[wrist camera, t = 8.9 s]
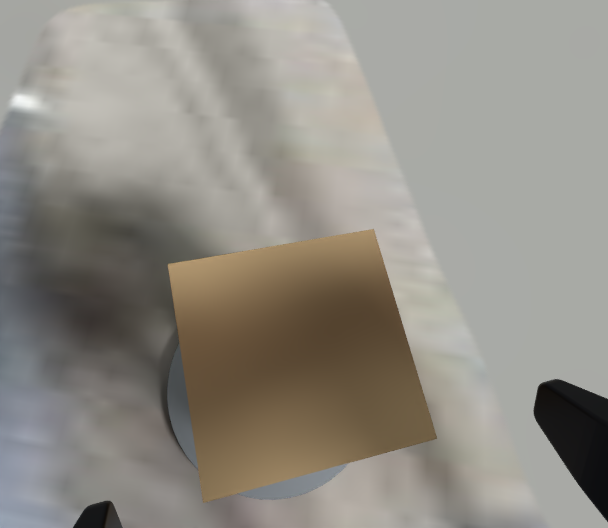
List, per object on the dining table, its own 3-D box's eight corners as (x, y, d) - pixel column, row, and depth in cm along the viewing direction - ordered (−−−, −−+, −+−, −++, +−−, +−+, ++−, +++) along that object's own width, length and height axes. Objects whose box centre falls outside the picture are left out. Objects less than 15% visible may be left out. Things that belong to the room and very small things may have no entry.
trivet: (411, 381, 23) (415, 380, 23) (275, 549, 20) (276, 553, 20) (272, 251, 25) (273, 247, 24) (124, 387, 22) (120, 386, 21)
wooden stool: (347, 433, 22) (436, 438, 12) (221, 466, 20) (203, 502, 11) (317, 312, 23) (373, 229, 14) (199, 336, 22) (167, 264, 12)
